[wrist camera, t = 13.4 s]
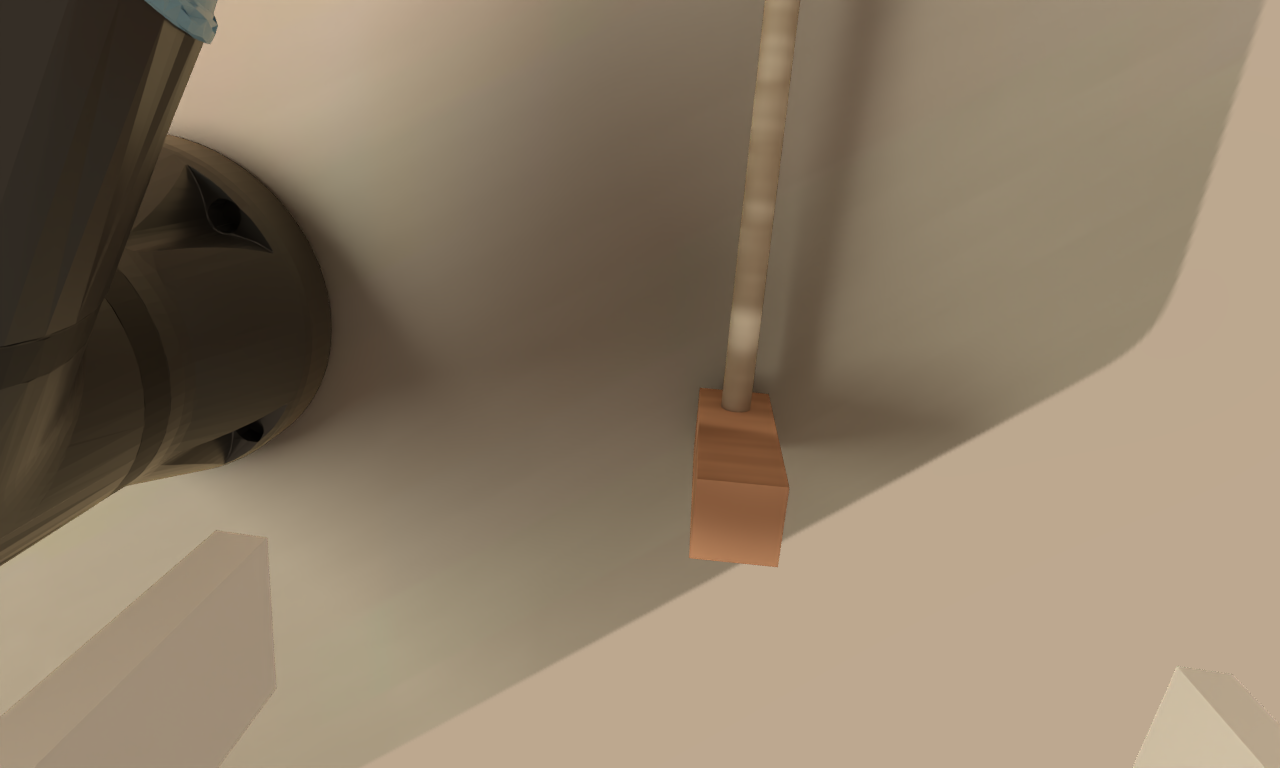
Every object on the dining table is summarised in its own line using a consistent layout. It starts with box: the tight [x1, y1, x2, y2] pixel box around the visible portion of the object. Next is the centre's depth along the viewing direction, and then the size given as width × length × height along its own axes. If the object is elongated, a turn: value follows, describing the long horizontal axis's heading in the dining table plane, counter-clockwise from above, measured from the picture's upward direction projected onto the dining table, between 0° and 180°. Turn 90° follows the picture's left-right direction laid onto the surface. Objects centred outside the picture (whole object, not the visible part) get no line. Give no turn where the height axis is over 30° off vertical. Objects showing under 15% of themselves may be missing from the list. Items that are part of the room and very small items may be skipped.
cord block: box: [689, 0, 800, 567], centre depth 24 cm, size 35×7×9 cm, turn 176°
